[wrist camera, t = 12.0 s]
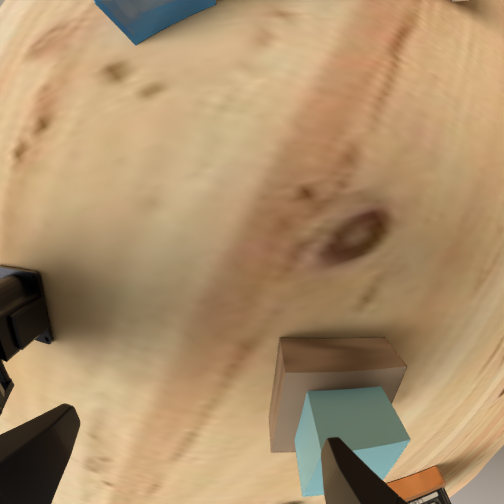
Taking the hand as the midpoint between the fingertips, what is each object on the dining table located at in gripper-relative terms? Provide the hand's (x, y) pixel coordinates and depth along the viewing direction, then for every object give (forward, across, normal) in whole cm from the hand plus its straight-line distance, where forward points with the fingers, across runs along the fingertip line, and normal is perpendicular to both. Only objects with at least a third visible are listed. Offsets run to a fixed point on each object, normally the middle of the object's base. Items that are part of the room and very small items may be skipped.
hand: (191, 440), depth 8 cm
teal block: (+7, -8, +6) cm, 12 cm away
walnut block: (+11, -8, +6) cm, 15 cm away
